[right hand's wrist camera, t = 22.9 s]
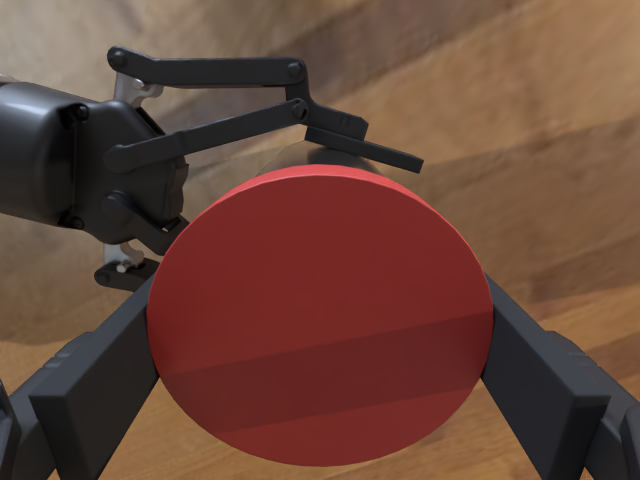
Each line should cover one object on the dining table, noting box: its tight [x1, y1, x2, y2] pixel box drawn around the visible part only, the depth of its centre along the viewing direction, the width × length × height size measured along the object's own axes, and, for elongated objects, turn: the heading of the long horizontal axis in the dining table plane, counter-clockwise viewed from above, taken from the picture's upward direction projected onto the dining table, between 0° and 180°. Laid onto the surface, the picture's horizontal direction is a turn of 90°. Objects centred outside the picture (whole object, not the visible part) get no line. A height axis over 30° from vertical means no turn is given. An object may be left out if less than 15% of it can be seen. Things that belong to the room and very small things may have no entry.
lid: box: [147, 164, 494, 467], centre depth 11 cm, size 11×11×2 cm
